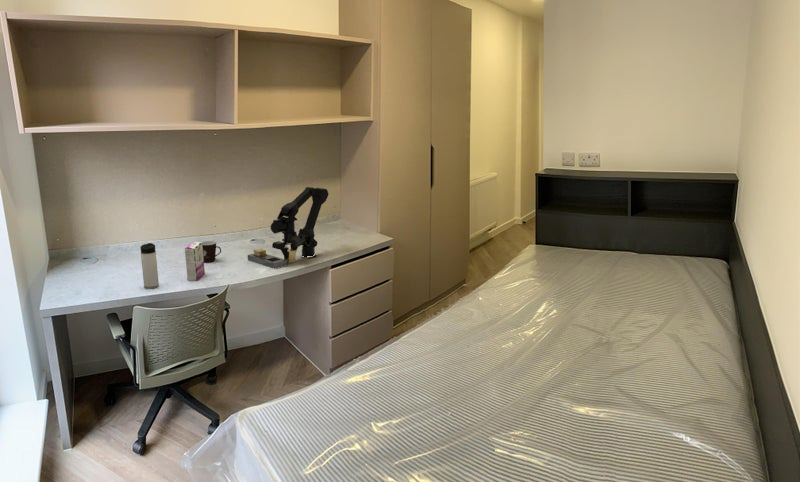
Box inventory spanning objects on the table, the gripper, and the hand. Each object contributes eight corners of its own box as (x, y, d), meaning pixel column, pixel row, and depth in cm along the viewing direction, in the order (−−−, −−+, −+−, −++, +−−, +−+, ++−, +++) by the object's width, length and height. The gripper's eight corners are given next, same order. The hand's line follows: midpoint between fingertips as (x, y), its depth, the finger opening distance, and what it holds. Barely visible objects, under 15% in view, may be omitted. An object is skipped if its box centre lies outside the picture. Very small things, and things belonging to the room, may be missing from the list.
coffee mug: (197, 260, 308) (196, 242, 306) (212, 257, 314) (211, 239, 312) (208, 265, 300) (206, 247, 298) (223, 262, 306) (222, 244, 304)
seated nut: (261, 259, 314) (260, 248, 312) (266, 260, 311) (265, 250, 310) (254, 260, 311) (253, 250, 309) (259, 262, 308) (259, 251, 306)
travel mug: (161, 284, 272) (157, 242, 267) (155, 289, 266) (152, 246, 261) (147, 284, 272) (143, 242, 267) (141, 288, 266) (137, 246, 260)
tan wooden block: (290, 259, 312) (290, 248, 311) (295, 261, 310) (295, 250, 308) (284, 261, 309) (283, 250, 307) (289, 262, 306) (289, 251, 305)
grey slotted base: (260, 257, 317) (259, 251, 317) (286, 265, 304) (286, 260, 303) (247, 260, 311) (247, 254, 311) (274, 269, 298) (274, 263, 297)
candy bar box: (195, 273, 288) (192, 241, 284) (205, 273, 288) (202, 241, 284) (186, 280, 277) (184, 247, 273) (197, 281, 277) (194, 248, 273)
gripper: (285, 235, 293) (286, 265, 297) (312, 229, 307) (313, 257, 311) (271, 231, 300) (272, 260, 304) (298, 225, 314) (299, 253, 318)
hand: (289, 258), depth 309 cm, fingers closed on tan wooden block, 4 cm apart
